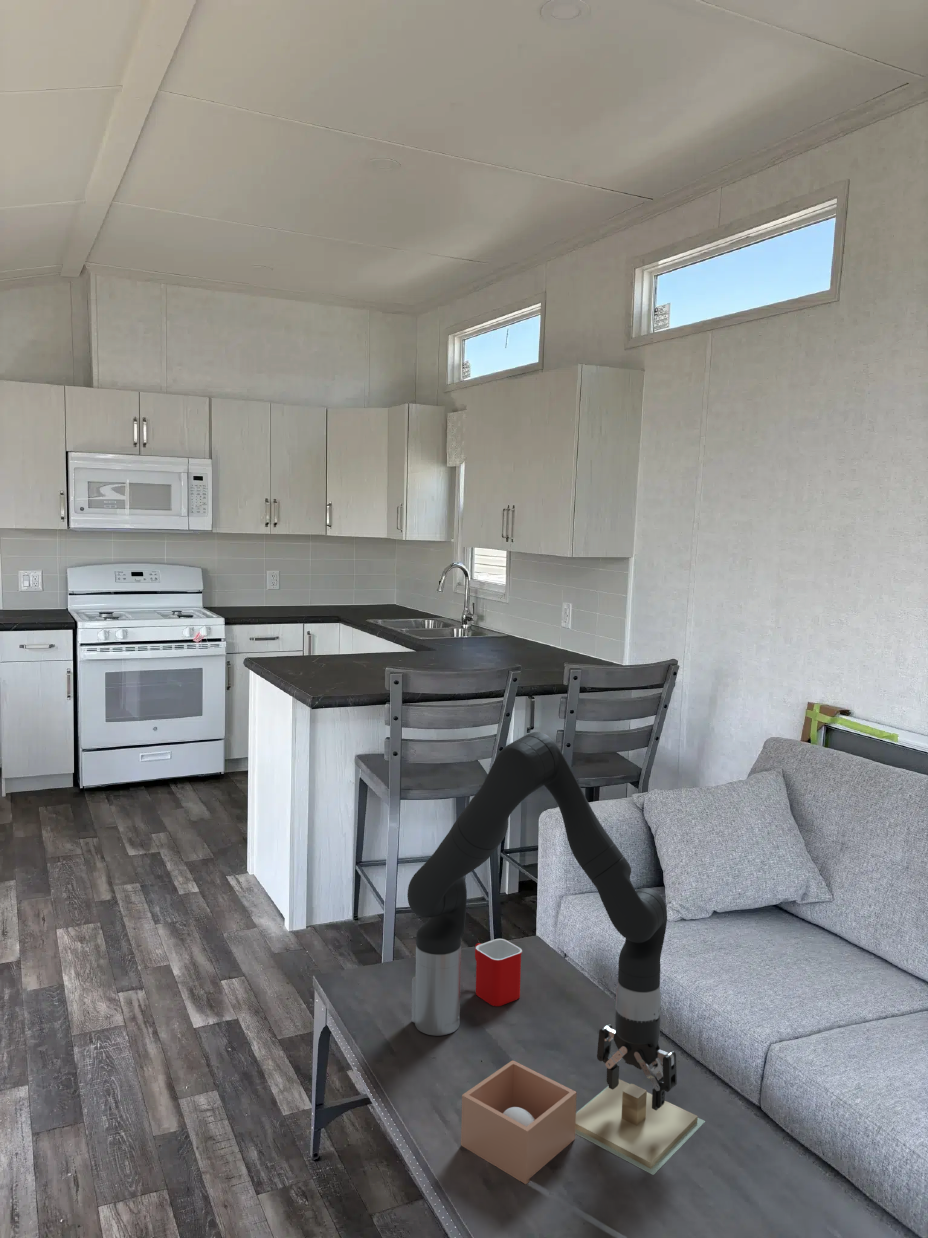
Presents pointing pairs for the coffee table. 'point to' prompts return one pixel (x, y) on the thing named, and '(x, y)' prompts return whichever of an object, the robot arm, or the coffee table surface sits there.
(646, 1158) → the lid
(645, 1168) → the mat
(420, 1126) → the coffee table surface
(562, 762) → the robot arm
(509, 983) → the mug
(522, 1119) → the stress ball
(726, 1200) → the coffee table surface
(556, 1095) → the pink box
